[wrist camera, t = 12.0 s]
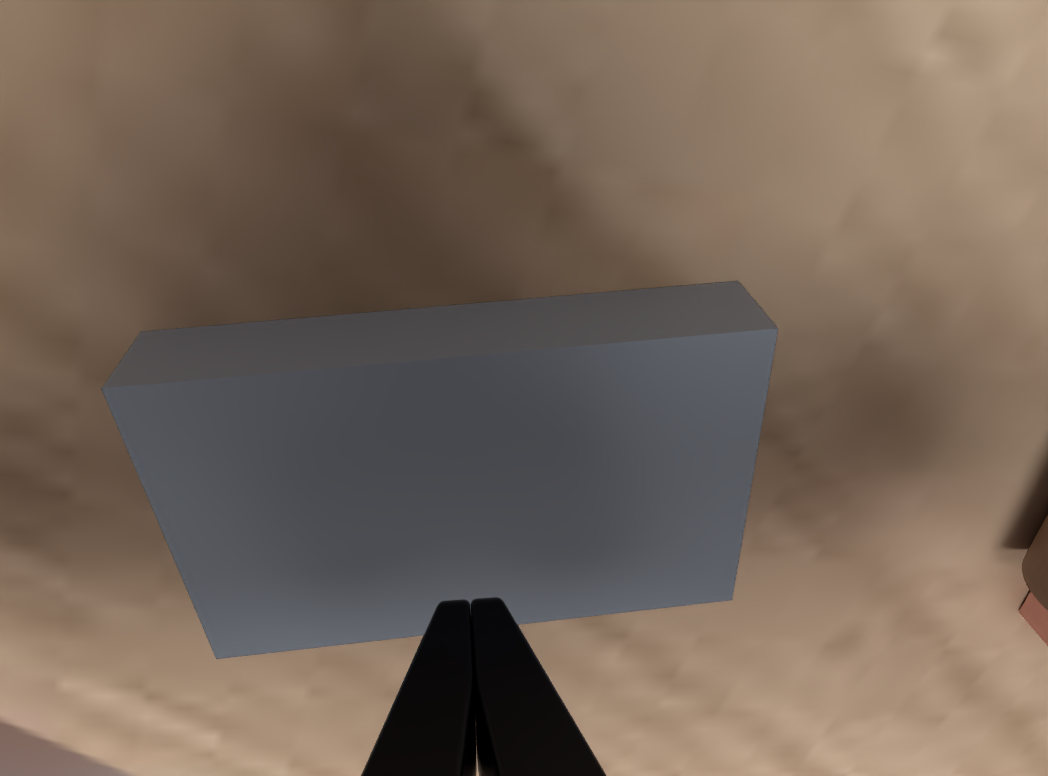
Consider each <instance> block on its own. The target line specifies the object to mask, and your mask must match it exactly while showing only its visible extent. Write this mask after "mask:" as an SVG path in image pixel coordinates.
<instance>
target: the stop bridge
mask: <svg viewBox="0 0 1048 776" xmlns="http://www.w3.org/2000/svg"><path fill="white" fill-rule="evenodd" d="M1019 613H1020V614H1021V615H1022V616H1023V617H1024V618H1025V620H1026V621H1027V622H1028V623H1029V624H1030V625H1031V627H1032V628H1033V629H1034V630H1035V631H1036V633H1037V634H1038V635H1039V636H1040V637H1041V638H1042V640H1043V641H1044V642H1045V643H1046V644H1047V645H1048V610H1046V609H1045V608H1044V607H1043V606H1042V604H1041V603H1040V602H1039V601H1038V600H1037V599H1036V598H1035V596H1034V595H1033V594H1032V592H1031V591H1030V593H1029V595H1028V597H1027V598H1026V600H1025V602H1024V604H1023V606H1022V607H1021V609H1020V611H1019Z"/></svg>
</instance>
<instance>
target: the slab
mask: <svg viewBox="0 0 1048 776" xmlns="http://www.w3.org/2000/svg"><path fill="white" fill-rule="evenodd" d="M777 333H778V327H777V326H776V325H775V324H774V323H773V322H772V320H771V319H770V318H769V317H768V316H767V314H766V313H765V312H764V311H763V310H762V308H761V307H760V306H759V305H758V304H757V303H756V301H755V300H754V299H753V298H752V297H751V295H750V294H749V293H748V292H747V291H746V289H745V288H744V287H743V286H742V285H741V283H740V282H739V281H730V282H718V283H706V284H695V285H683V286H671V287H659V288H648V289H636V290H624V291H612V292H601V293H589V294H577V295H565V296H554V297H542V298H530V299H518V300H507V301H495V302H483V303H471V304H460V305H448V306H436V307H424V308H413V309H401V310H389V311H377V312H365V313H354V314H342V315H330V316H318V317H307V318H295V319H283V320H271V321H260V322H248V323H236V324H224V325H213V326H201V327H189V328H177V329H166V330H154V331H142V332H140V334H139V335H138V337H137V338H136V339H135V341H134V342H133V344H132V345H131V347H130V348H129V349H128V351H127V352H126V354H125V355H124V357H123V358H122V360H121V361H120V362H119V364H118V365H117V367H116V368H115V370H114V371H113V373H112V374H111V375H110V377H109V378H108V380H107V381H106V383H105V384H104V385H103V387H102V388H101V389H102V391H103V394H104V396H105V399H106V401H107V403H108V406H109V408H110V410H111V413H112V415H113V417H114V420H115V422H116V424H117V427H118V429H119V431H120V434H121V436H122V438H123V441H124V443H125V445H126V448H127V450H128V453H129V455H130V457H131V460H132V462H133V464H134V467H135V469H136V471H137V474H138V476H139V478H140V481H141V483H142V485H143V488H144V490H145V492H146V495H147V497H148V500H149V502H150V504H151V507H152V509H153V511H154V514H155V516H156V518H157V521H158V523H159V525H160V528H161V530H162V532H163V535H164V537H165V539H166V542H167V544H168V546H169V549H170V551H171V554H172V556H173V558H174V561H175V563H176V565H177V568H178V570H179V572H180V575H181V577H182V579H183V582H184V584H185V586H186V589H187V591H188V593H189V596H190V598H191V600H192V603H193V605H194V608H195V610H196V612H197V615H198V617H199V619H200V622H201V624H202V626H203V629H204V631H205V633H206V636H207V638H208V640H209V643H210V645H211V647H212V650H213V652H214V655H215V657H216V659H221V658H230V657H239V656H247V655H256V654H265V653H274V652H282V651H291V650H300V649H309V648H317V647H326V646H335V645H344V644H352V643H361V642H370V641H379V640H387V639H396V638H405V637H414V636H422V635H424V634H425V631H426V629H427V627H428V625H429V622H430V620H431V618H432V616H433V614H434V611H435V609H436V607H437V605H438V604H439V603H440V602H441V601H447V600H462V599H465V600H468V601H469V603H470V609H471V602H472V600H474V599H477V598H491V597H499V598H501V599H502V600H503V601H504V603H505V604H506V606H507V608H508V609H509V611H510V613H511V615H512V616H513V618H514V620H515V621H516V623H517V625H518V624H527V623H536V622H545V621H553V620H562V619H571V618H580V617H588V616H597V615H606V614H615V613H623V612H632V611H641V610H650V609H658V608H667V607H676V606H685V605H693V604H702V603H711V602H720V601H728V600H732V597H733V592H734V586H735V580H736V574H737V568H738V562H739V556H740V550H741V545H742V539H743V533H744V527H745V521H746V515H747V509H748V503H749V497H750V492H751V486H752V480H753V474H754V468H755V462H756V456H757V450H758V445H759V439H760V433H761V427H762V421H763V415H764V409H765V403H766V398H767V392H768V386H769V380H770V374H771V368H772V362H773V356H774V351H775V345H776V339H777Z"/></svg>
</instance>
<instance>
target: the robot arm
mask: <svg viewBox="0 0 1048 776" xmlns="http://www.w3.org/2000/svg"><path fill="white" fill-rule="evenodd" d="M476 746H477V761H478V772H479V776H606V774H605V772H604V771H603V769H602V767H601V765H600V764H599V762H598V760H597V759H596V757H595V755H594V754H593V752H592V750H591V748H590V747H589V745H588V743H587V742H586V740H585V738H584V737H583V735H582V733H581V732H580V730H579V728H578V726H577V725H576V723H575V721H574V720H573V718H572V716H571V715H570V713H569V711H568V709H567V708H566V706H565V704H564V703H563V701H562V699H561V698H560V696H559V694H558V693H557V691H556V689H555V687H554V686H553V684H552V682H551V681H550V679H549V677H548V676H547V674H546V672H545V670H544V669H543V667H542V665H541V664H540V662H539V660H538V659H537V657H536V655H535V654H534V652H533V650H532V648H531V647H530V645H529V643H528V642H527V640H526V638H525V637H524V635H523V633H522V631H521V630H520V628H519V626H518V625H517V623H516V621H515V620H514V618H513V616H512V615H511V613H510V611H509V609H508V608H507V606H506V604H505V603H504V601H503V600H502V599H501V598H499V597H491V598H477V599H474V600H472V602H471V609H470V603H469V601H468V600H465V599H462V600H447V601H441V602H440V603H439V604H438V605H437V607H436V609H435V611H434V614H433V616H432V618H431V620H430V622H429V625H428V627H427V629H426V631H425V634H424V636H423V638H422V640H421V643H420V645H419V647H418V649H417V652H416V654H415V656H414V658H413V660H412V663H411V665H410V667H409V669H408V672H407V674H406V676H405V678H404V681H403V683H402V685H401V687H400V690H399V692H398V694H397V696H396V699H395V701H394V703H393V705H392V707H391V710H390V712H389V714H388V716H387V719H386V721H385V723H384V725H383V728H382V730H381V732H380V734H379V737H378V739H377V741H376V743H375V746H374V748H373V750H372V752H371V754H370V757H369V759H368V761H367V763H366V766H365V768H364V770H363V772H362V775H361V776H476V771H477V764H476Z"/></svg>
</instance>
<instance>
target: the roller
mask: <svg viewBox="0 0 1048 776" xmlns="http://www.w3.org/2000/svg"><path fill="white" fill-rule="evenodd" d="M1022 572H1023V576H1024V579H1025V582H1026V584H1027V586H1028V588H1029V589H1030V591H1031V592H1032V594H1033V595H1034V596H1035V598H1036V599H1037V600H1038V601H1039V602H1040V603H1041V604H1042V606H1043V607H1044V608H1045V609H1046V610H1048V515H1047V517H1046V518H1045V520H1044V522H1043V524H1042V526H1041V528H1040V529H1039V531H1038V533H1037V535H1036V537H1035V539H1034V540H1033V542H1032V544H1031V546H1030V548H1029V550H1028V551H1027V553H1026V555H1025V557H1024V559H1023V563H1022Z"/></svg>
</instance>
